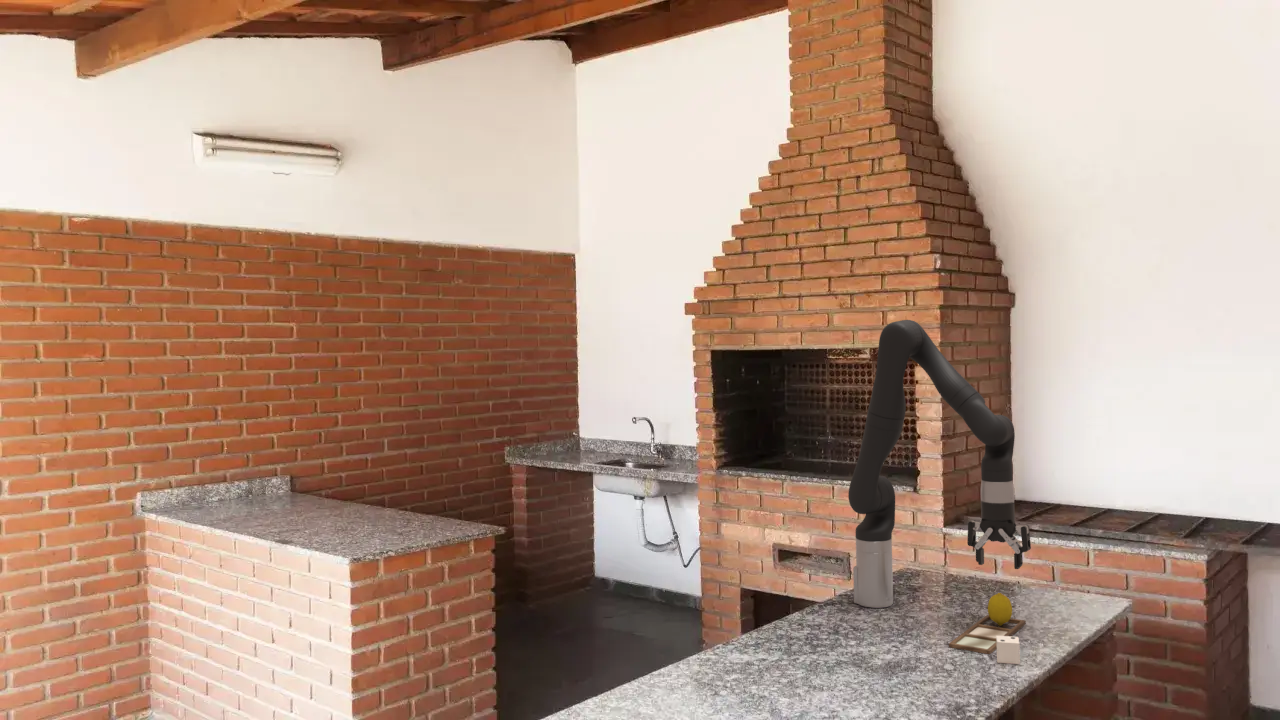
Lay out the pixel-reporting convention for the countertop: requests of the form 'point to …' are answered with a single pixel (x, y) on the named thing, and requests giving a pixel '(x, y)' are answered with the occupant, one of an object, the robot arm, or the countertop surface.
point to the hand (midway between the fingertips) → (999, 566)
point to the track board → (984, 636)
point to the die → (1008, 649)
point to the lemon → (999, 609)
